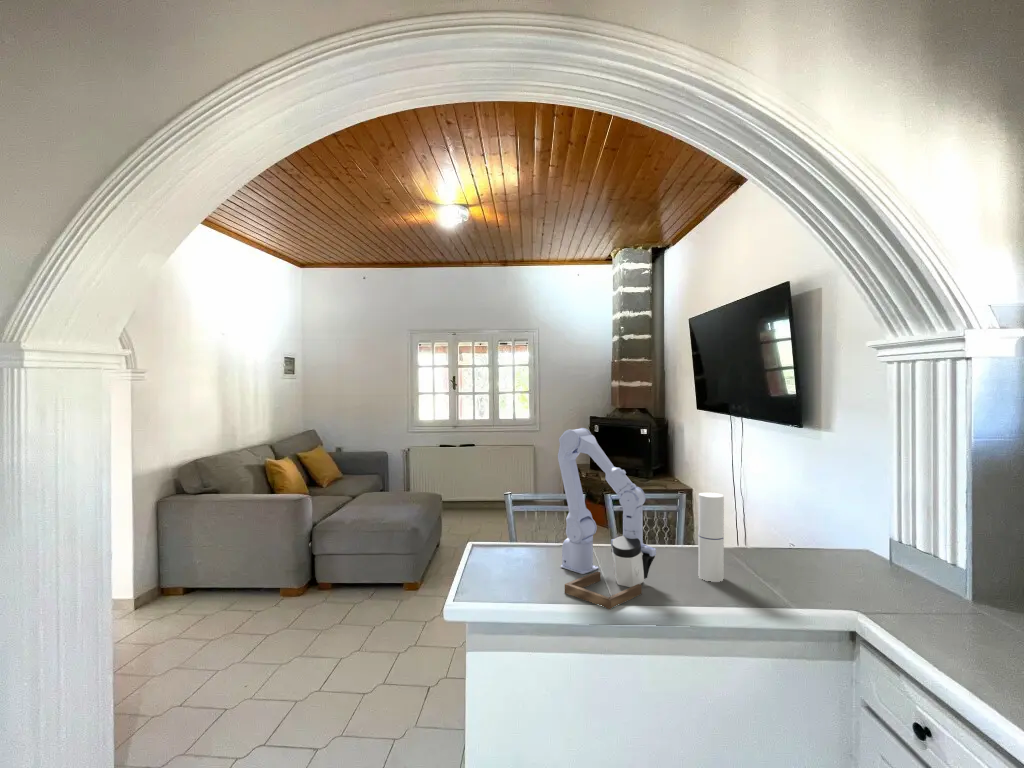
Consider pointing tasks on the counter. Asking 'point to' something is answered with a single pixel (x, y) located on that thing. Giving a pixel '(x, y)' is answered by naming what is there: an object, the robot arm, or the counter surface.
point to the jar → (627, 561)
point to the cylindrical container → (711, 537)
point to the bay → (578, 591)
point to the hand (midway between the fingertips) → (632, 574)
